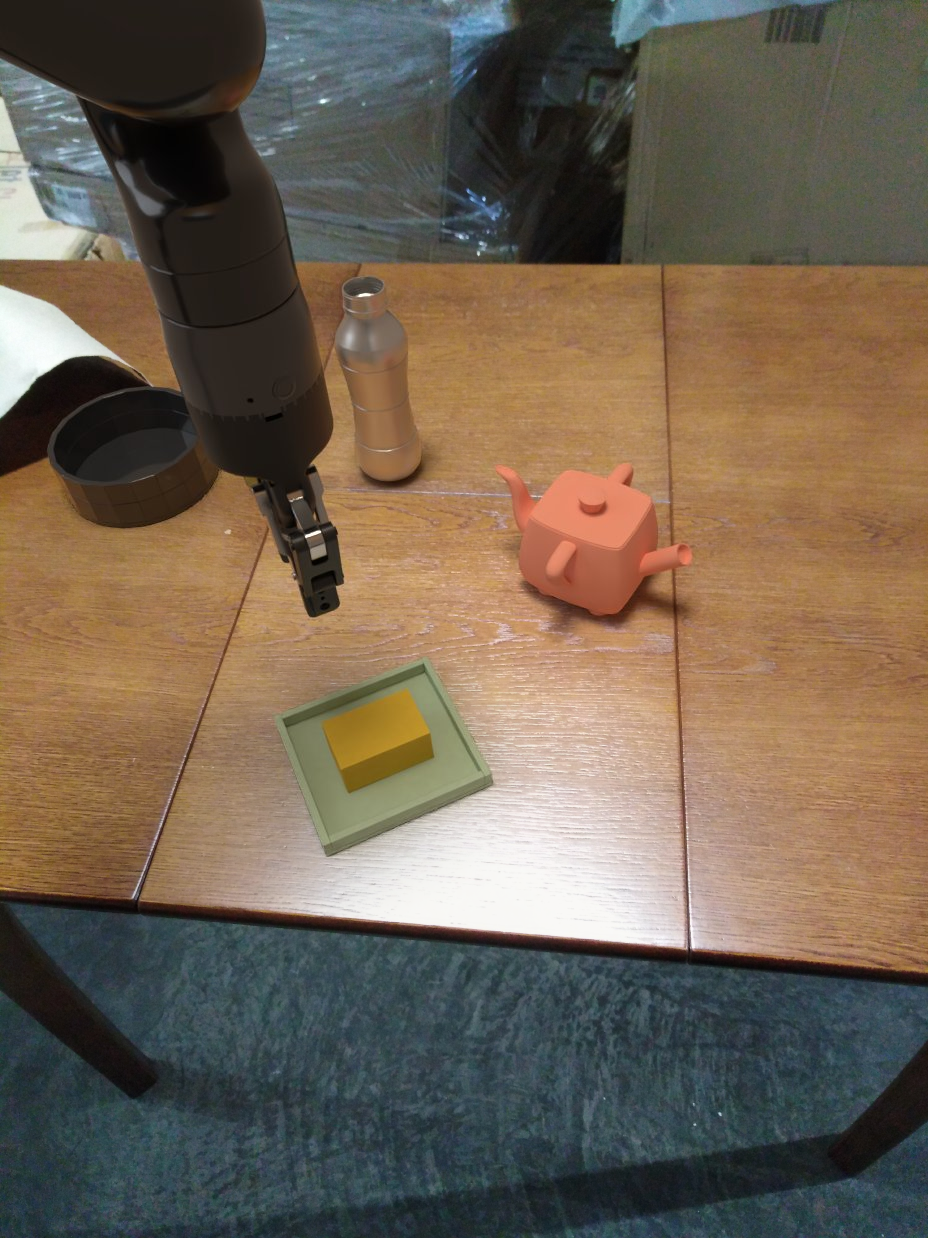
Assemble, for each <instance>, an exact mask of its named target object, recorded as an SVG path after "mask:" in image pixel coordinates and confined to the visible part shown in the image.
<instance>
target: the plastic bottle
mask: <svg viewBox="0 0 928 1238" xmlns="http://www.w3.org/2000/svg"><path fill="white" fill-rule="evenodd" d="M341 294H342V299H343V300H342V308H343V309H342V310H343V311H344V313H345V315H344V317H343V318H342V319H341V321H340V323H339V325H338V327H337V329H336V330H335V334H334V342H333V346H334V350H335V356H336V357H337V361H338V363H339V366H340V369H341V371H342V373H343V376H344V380H345V381H346V387H347V390H348V393H349V396H350V401H351V405H352V412H353V423H354V437H353V438H354V441H353V444H354V455H355V457H356V460H357V462H358V465H359V468H360V469H361V470H362V471H363V472H364V473H365V474H366V475H368V476H369V477H371V478H372V479H374V480H376V481H379V482H397V481H401V480H403V479H406V478H407V477H410V476H411V475H412V474H414V472H415V470H416V469H417V468H419V465H420V463H421V462H422V454H423V452H422V451H423V450H422V449H423V443H422V440H421V435H420V433H419V430H418V427H417V425H416V423H415V418H414V415H413V411H412V407H411V402H410V394H409V393H410V392H409V378H408V362H409V339H408V334H407V332H406V330H405V328H404V325H403V324H402V323H401V321H399V320H398V318H397V317H396V316H395V315H394V314H393V313H392V312H391V311H390V310H389V309H388V308H389V304H390V302H389V297H388V296H387V288H386V284H385V282H384V280H383V279H381V278H380V277H377V276H375V275H360V276H355V277H351V278H350V279H348V280H346V281H345V282H344V283H343V285H341Z"/></svg>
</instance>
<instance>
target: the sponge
mask: <svg viewBox="0 0 928 1238" xmlns="http://www.w3.org/2000/svg"><path fill="white" fill-rule="evenodd" d="M321 724H322V727H323V730H324V733H325V736H326V740H327V743H328V746H329V749H330V751H331V753H332V756H333V758H334V760H335V763H336V765H337V768H338V770H339V772H340V775H341V777H342V780H343V782H344V784H345V787H346V789H347V791H348V793H350V792H352V791H355V790H357V789H360V788H362V787H364V786H367V785H369V784H372V783H374V782H376V781H379V780H381V779H383V778H386V777H388V776H391V775H393V774H395V773H398V772H400V771H402V770H405V769H407V768H410V767H412V766H414V765H417V764H419V763H421V762H424V761H426V760H429V759H431V758H433V757H434V753H433V747H432V740H431V734H430V731H429V729H428V727H427V725H426V723H425V721H424V719H423V717H422V715H421V713H420V711H419V709H418V708H417V706H416V704H415V702H414V700H413V698H412V696H411V694H410V692H409V690H408V688H407V689H404V690H402V691H399V692H397V693H394V694H391V695H389V696H386V697H384V698H381V699H379V700H376V701H374V702H371V703H369V704H366V705H364V706H361V707H359V708H356V709H354V710H351V711H349V712H346V713H344V714H341V715H339V716H336V717H334V718H331V719H329V720H326V721H324V722H321Z"/></svg>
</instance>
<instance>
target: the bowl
mask: <svg viewBox="0 0 928 1238" xmlns="http://www.w3.org/2000/svg"><path fill="white" fill-rule="evenodd" d="M46 452H47V457H48V462H49V465H50V467H51V468H52V470H53V472H54V475H55V477H56V478H57V480H58V482H59V484H60V485H61V488H62V489H63V491H64V494H65V495H66V496H67V498H68V501H69V502H70V504H71V505H72V506H73V507H74V509H75V510H76V512H77V513H79V515H81V516H82V517H83V518H85V519H86V520H88V521H90V522H91V523H94V524H98V525H101V526H105V527H110V528H137V527H143V526H148V525H153V524H156V523H159V522H163V521H165V520H168V519H170V518H173V517H175V516H178V515H179V514H181V513H182V512H184V511H186V510H188V509H189V508H190V507H192V506H193V505H196V503H198V501H200V500H201V499H202V498H203V497H204V496H205V495H206V494H207V493H208V491H210V489H211V487H212V486H213V485H214V482H215V480H216V479H217V476H218V473H219V468H217V467H216V466H214V465H213V464H212V463H211V462H210V461H209V460H208V459H207V457H206V456H205V454H204V453H203V451H202V448H201V445H200V442H199V440H198V437H197V434H196V431H195V428H194V426H193V423H192V420H191V417H190V414H189V412H188V409H187V406H186V403H185V401H184V398H183V395H182V392H181V390H177V389H174V388H171V387H164V386H163V387H162V386H152V385H148V386H138V387H137V386H136V387H129V388H123V389H119V390H116V391H112V392H109V393H105V394H102V395H99V396H98V397H95V398H93V399H92V400H89V401H88V402H85V403H84V404H83V403H82V404H81V405H80V406H79V407H77V408H76V409H75V410H73V411H72V412H70V413H69V414H68V415H66V416H65V417H64V418H63V419H62V420H61V422H60V423H59V424H58V426H57V427H56V428H55V429H54V431H53V432H52V433H51V435H50V438H49V442H48V445H47V449H46Z"/></svg>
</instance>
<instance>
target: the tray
mask: <svg viewBox="0 0 928 1238" xmlns="http://www.w3.org/2000/svg"><path fill="white" fill-rule="evenodd" d="M407 688H408V690H409V692H410V694H411V696H412V698H413V700H414V702H415V704H416V706H417V708H418V709H419V711H420V713H421V715H422V717H423V719H424V721H425V723H426V725H427V727H428V729H429V731H430V734H431V740H432V747H433V753H434V757H433V758H431V759H429V760H426V761H424V762H421V763H419V764H417V765H414V766H412V767H410V768H407V769H405V770H402V771H400V772H398V773H395V774H393V775H391V776H388V777H386V778H383V779H381V780H379V781H376V782H374V783H372V784H369V785H367V786H364V787H362V788H360V789H357V790H355V791H352V792H350V793H348V791H347V789H346V787H345V784H344V782H343V780H342V777H341V775H340V772H339V770H338V768H337V765H336V763H335V760H334V758H333V756H332V753H331V751H330V749H329V746H328V743H327V740H326V736H325V733H324V730H323V727H322V724H321V722H324V721H326V720H329V719H331V718H334V717H336V716H339V715H341V714H344V713H346V712H349V711H351V710H354V709H356V708H359V707H361V706H364V705H366V704H369V703H371V702H374V701H376V700H379V699H381V698H384V697H386V696H389V695H391V694H394V693H397V692H399V691H402V690H404V689H407ZM273 720H274V722H275V725H276V728H277V730H278V734H279V736H280V738H281V741H282V744H283V746H284V748H285V751H286V754H287V757H288V759H289V762H290V765H291V767H292V770H293V772H294V775H295V777H296V780H297V783H298V786H299V788H300V791H301V793H302V796H303V799H304V802H305V804H306V807H307V809H308V811H309V815H310V818H311V820H312V822H313V826H314V827H315V830H316V833H317V836H318V838H319V840H320V843H321V846H322V849H323V851H324V854H325V856H326V857H329V856H332V855H335V854H336V853H339V852H340V851H343V850H345V849H348V848H351V847H353V846H355V845H356V844H359V843H363V842H364V841H366V840H368V839H371V838H373V837H375V836H377V835H380V834H381V833H382V834H383V833H385V832H387V831H389V830H391V829H394V828H396V827H398V826H401V825H403V824H405V823H407V822H410V821H412V820H414V819H417V818H419V817H422V816H424V815H426V814H428V813H431V812H433V811H434V810H437V809H439V808H441V807H444V806H447V805H448V804H449V805H450V804H451V803H454V802H455V801H458V800H460V799H462V798H464V797H465V798H466V797H467V796H469V795H472V794H474V793H476V792H479V791H481V790H483V789H485V788H488V787H490V786H492V785H493V772H492V770H491V769H490V767H489V765H488V763H487V761H486V760H485V758H484V756H483V755H482V753H481V751H480V748H479V747H478V745H477V743H476V742H475V740H474V738H473V736H472V734H471V732H470V730H469V729H468V727H467V725H466V723H465V721H464V720H463V718H462V716H461V714H460V712H459V711H458V708H457V707H456V705H455V704H454V701H453V699H452V698H451V696H450V694H449V692H448V691H447V688H446V687H445V685H444V683H443V681H442V679H441V677H440V675H439V674H438V672H437V671H436V668H435V667H434V665H433V663H432V661H431V658H430V657H429V656H428V655H426V656H423V657H421V658H418V659H416V660H414V661H413V660H412V661H410V662H408V663H406V664H403V665H401V666H397V667H396V668H393V669H390V670H388V671H385V672H383V673H380V674H377V675H375V676H373V677H369V678H368V679H365V680H362V681H359V682H357V683H354V684H352V685H349V686H347V687H345V688H342V689H339V690H337V691H334V692H331V693H329V694H327V695H324V696H321V697H318V698H316V699H314V700H311V701H309V702H306V703H303V704H301V705H299V706H296V707H293V708H291V709H288V710H285V711H283V712H281V713H278V714H275V715H273Z"/></svg>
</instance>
